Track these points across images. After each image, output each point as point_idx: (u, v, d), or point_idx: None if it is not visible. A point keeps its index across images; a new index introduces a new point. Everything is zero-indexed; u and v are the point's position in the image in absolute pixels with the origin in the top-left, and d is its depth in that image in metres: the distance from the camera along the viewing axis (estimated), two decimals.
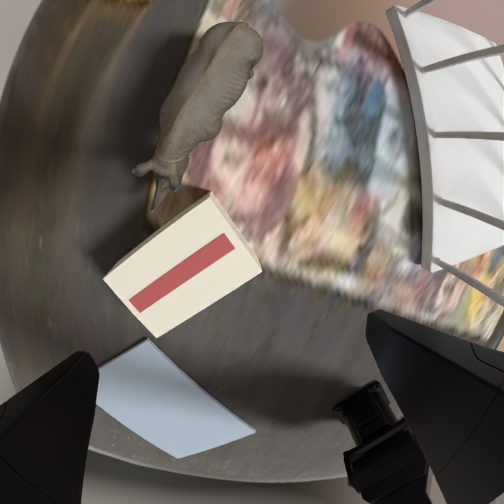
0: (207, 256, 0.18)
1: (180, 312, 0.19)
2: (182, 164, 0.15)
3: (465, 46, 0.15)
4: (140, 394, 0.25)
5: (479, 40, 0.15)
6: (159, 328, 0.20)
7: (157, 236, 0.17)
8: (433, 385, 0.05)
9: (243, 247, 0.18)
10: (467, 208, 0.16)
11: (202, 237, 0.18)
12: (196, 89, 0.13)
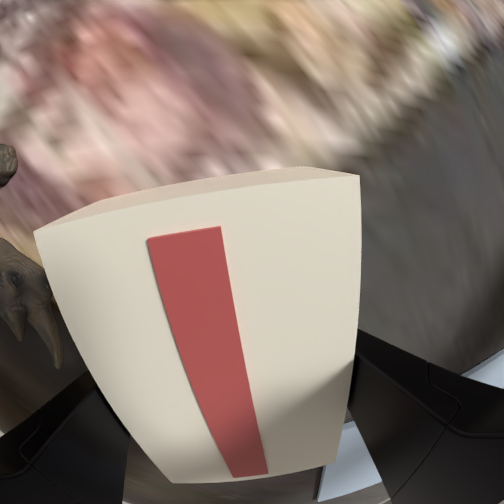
0: (207, 323, 0.05)
1: (320, 426, 0.07)
2: None
3: None
4: None
5: None
6: (322, 457, 0.07)
7: (107, 395, 0.06)
8: (382, 406, 0.05)
9: (234, 194, 0.04)
10: None
11: (136, 308, 0.05)
12: None
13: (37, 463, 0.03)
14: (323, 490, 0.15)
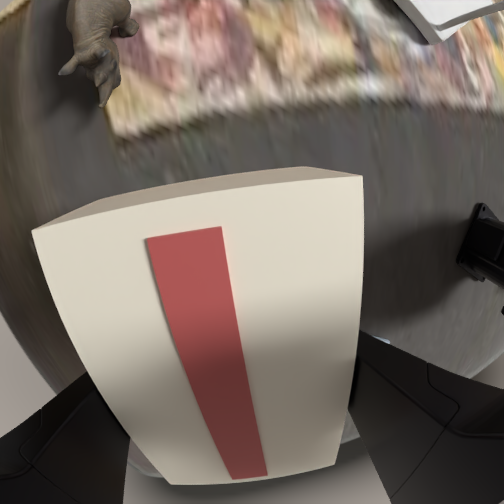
0: (207, 324, 0.05)
1: (320, 428, 0.06)
2: (105, 41, 0.10)
3: None
4: None
5: None
6: (321, 459, 0.07)
7: (105, 396, 0.05)
8: (381, 407, 0.05)
9: (235, 194, 0.04)
10: None
11: (135, 309, 0.05)
12: None
13: (39, 463, 0.03)
14: None
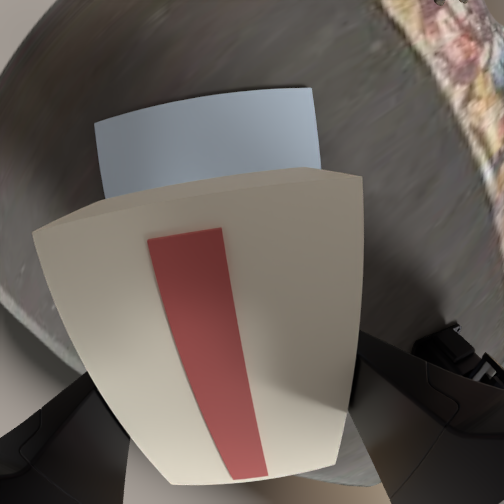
0: (208, 326, 0.05)
1: (321, 428, 0.06)
2: None
3: None
4: None
5: None
6: (322, 459, 0.07)
7: (106, 397, 0.05)
8: (381, 407, 0.05)
9: (235, 196, 0.04)
10: None
11: (136, 310, 0.05)
12: None
13: (38, 464, 0.03)
14: (145, 112, 0.14)
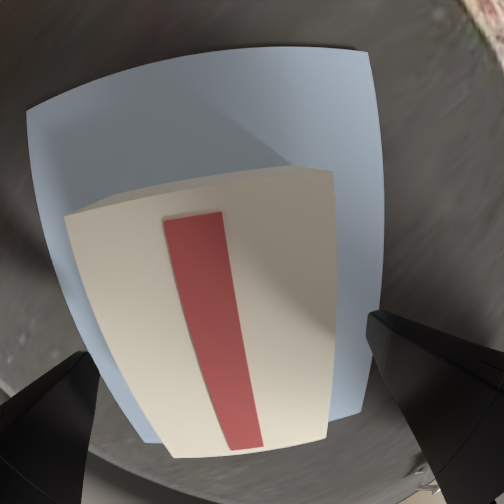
0: (210, 292, 0.06)
1: (309, 396, 0.08)
2: None
3: None
4: None
5: None
6: (313, 431, 0.08)
7: (119, 363, 0.07)
8: (433, 385, 0.05)
9: (232, 187, 0.05)
10: None
11: (151, 280, 0.06)
12: None
13: None
14: (96, 85, 0.07)
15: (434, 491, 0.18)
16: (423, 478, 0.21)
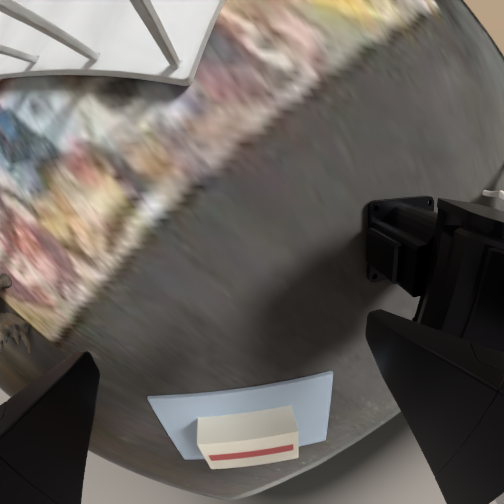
0: (226, 456, 0.22)
1: (266, 440, 0.22)
2: (0, 324, 0.15)
3: None
4: None
5: None
6: (289, 435, 0.22)
7: (249, 465, 0.23)
8: (433, 385, 0.05)
9: (203, 454, 0.22)
10: None
11: (224, 461, 0.23)
12: None
13: None
14: (178, 447, 0.26)
15: None
16: None
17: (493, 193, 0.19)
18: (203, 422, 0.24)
